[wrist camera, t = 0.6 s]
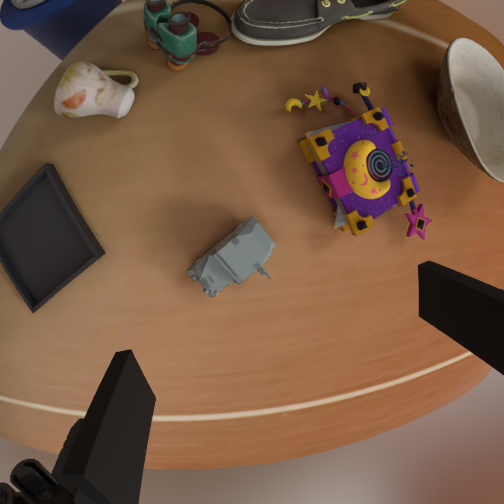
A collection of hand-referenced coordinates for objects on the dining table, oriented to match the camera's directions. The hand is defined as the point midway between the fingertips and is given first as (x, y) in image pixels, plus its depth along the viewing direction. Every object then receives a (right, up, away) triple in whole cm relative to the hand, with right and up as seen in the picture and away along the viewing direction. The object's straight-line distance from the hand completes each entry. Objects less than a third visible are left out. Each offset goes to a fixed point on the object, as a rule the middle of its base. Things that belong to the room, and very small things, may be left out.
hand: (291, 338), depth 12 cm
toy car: (-4, +3, +25) cm, 25 cm away
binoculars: (-10, +31, +18) cm, 37 cm away
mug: (-20, +23, +18) cm, 35 cm away
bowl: (+34, +27, +25) cm, 50 cm away
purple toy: (+13, +14, +25) cm, 31 cm away
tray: (-30, +5, +20) cm, 37 cm away
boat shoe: (+8, +39, +19) cm, 44 cm away
